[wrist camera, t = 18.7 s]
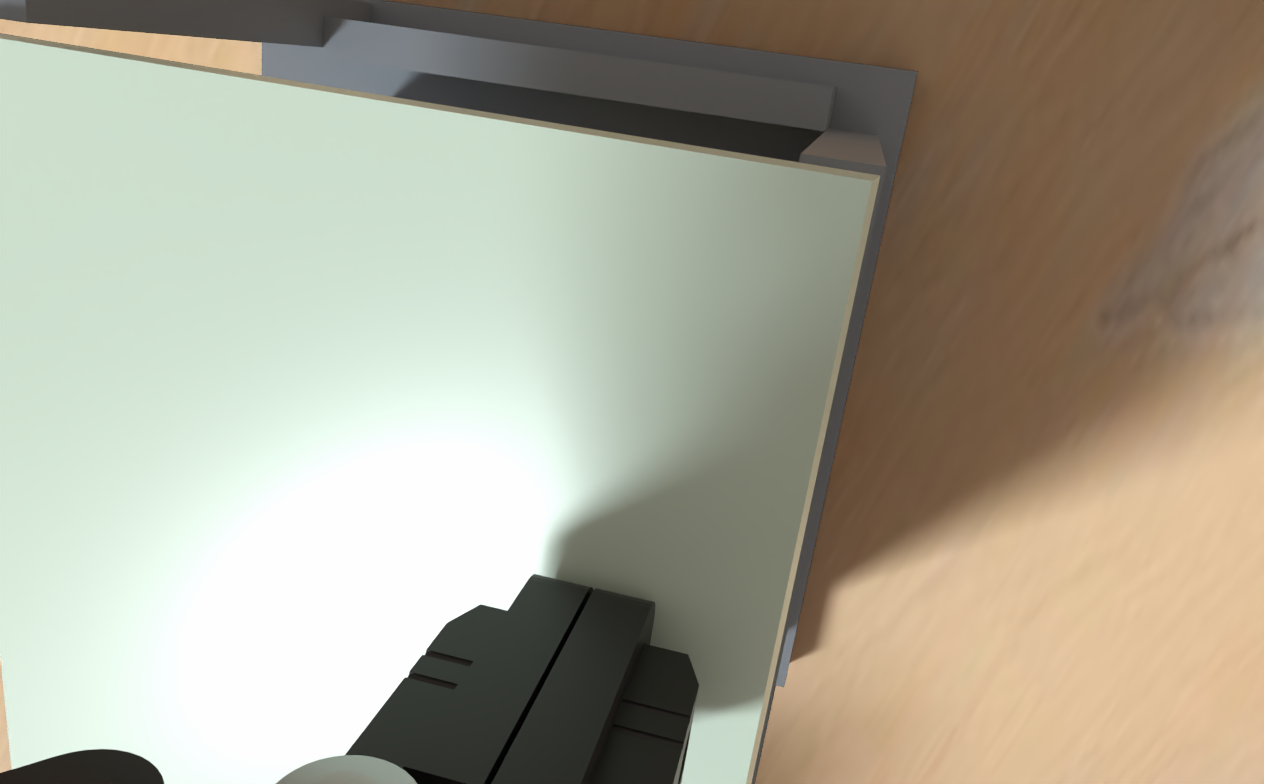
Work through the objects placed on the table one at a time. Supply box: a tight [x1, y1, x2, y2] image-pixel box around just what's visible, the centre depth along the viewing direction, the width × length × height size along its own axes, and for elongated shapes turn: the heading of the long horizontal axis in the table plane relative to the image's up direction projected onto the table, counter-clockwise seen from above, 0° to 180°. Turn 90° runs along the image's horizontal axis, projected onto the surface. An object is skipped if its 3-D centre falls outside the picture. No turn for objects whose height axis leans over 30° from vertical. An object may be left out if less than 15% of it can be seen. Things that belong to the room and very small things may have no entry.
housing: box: [0, 0, 917, 784], centre depth 19 cm, size 14×15×10 cm
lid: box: [0, 33, 880, 784], centre depth 13 cm, size 12×12×2 cm
